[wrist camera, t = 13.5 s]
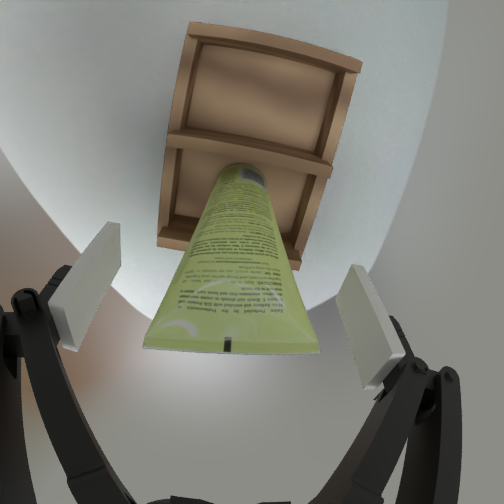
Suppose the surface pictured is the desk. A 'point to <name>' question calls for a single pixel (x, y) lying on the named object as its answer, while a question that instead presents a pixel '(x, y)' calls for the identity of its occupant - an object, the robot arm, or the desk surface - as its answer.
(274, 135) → the rack
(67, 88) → the desk surface
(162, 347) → the tube
